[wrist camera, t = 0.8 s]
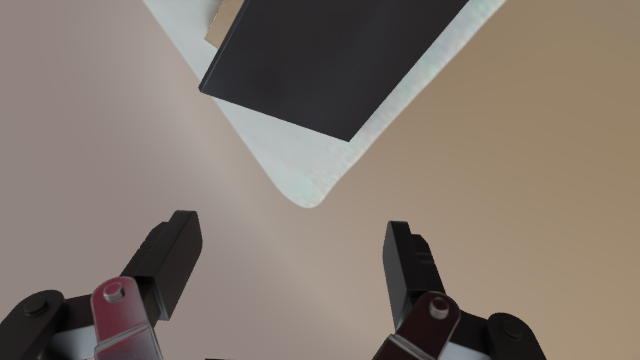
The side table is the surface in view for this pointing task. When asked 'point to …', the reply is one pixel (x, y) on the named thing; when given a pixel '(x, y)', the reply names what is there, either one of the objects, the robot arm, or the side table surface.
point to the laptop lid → (323, 57)
